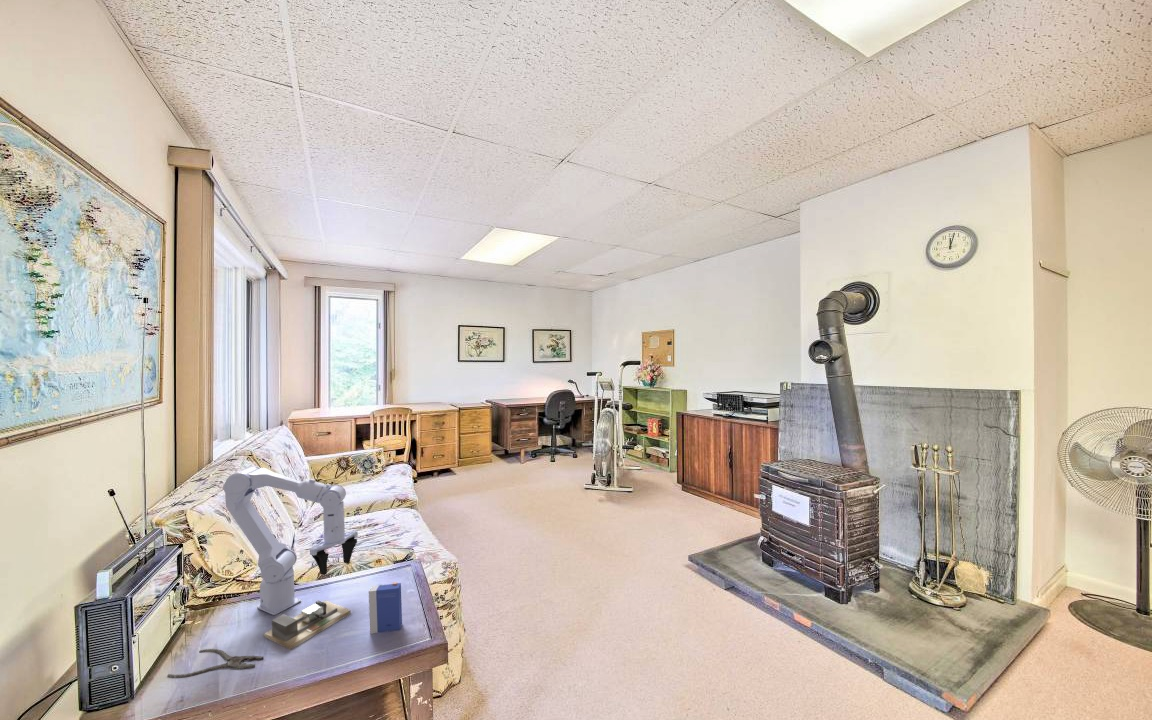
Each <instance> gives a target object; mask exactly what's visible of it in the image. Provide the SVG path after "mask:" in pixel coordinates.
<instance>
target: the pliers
mask: <svg viewBox="0 0 1152 720" xmlns="http://www.w3.org/2000/svg"><path fill="white" fill-rule="evenodd" d="M198 652H199V653H216V654H219V655H220V656H221V657H222V659H224V661H227V662H225V663H221V664H217V665H214V666H210V667H206V668H205V669H201V670H198V671H197V670H196V671H193V672H190V673H189V672H188V673H183V674H181V673H180V674H175V673H174V674H173V673H168V674H167V677H168V678H172V679H173V678H175V679H178V678H179V679H180V678H188V677H194V676H197V675H200V674H203V673H208V672H211V671H215V670H220V669H231V670H232V669H233V670H234V669H235V670H239V669H240V670H245V669H251V668H255V667H256V664H253V663H246V662H245V661H248V662H252V661H261V660H264V657H265V656H259V655H241V656H237V655H235V656H231V655H229V654H227V653H226V652H225V651H224V650H221V649H218V648H206V649H205V648H204V649H200V650H198Z"/></svg>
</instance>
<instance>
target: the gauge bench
mask: <svg viewBox="0 0 1152 720" xmlns="http://www.w3.org/2000/svg"><path fill="white" fill-rule="evenodd" d="M322 602H323V603H326V614H325V615H323V616H322V617H324V618H323V619H321V618H318V619H316V620H314V621H313V622H311V623H306V622H304V621H302V612H301V613H300V614H297V615H296V616H294V617H291V616H289V615H286V614H284V613H283V614H281V615H279V616H277V617H275V618H274V619H272V620H271V629H270V630H268V631H266V632H265V633H264V638H265V639H268V640H270V641H272V642H275V643H276V644H278V645H280V646H282V647H285V648H286V649H288V650H293V649H294V648H295V647H297V646H298V645H301V644H303V642H306V641H307V640H309V639H310V638H312V637H314V636H316V635H317V634H319V633H321V632H322V631H324V630H326V629H328V628H329V627H330V626H331V625H334V624H336V623H337V622H339V621H340V620H343V619H344V618H345V617H347V616H349V615H351V613H352V610H351V609H350V608H346V607H344V606H342V605H338V604H335V603H333V602H331V601H328V600H323V601H322Z"/></svg>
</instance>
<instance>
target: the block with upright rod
mask: <svg viewBox="0 0 1152 720" xmlns="http://www.w3.org/2000/svg"><path fill="white" fill-rule="evenodd" d="M323 602H324V601H320V600H317V601H315V603H313V604H311V605H310V606H308V607H306V608H304V609H302V610H301V613H302V621H304V622H306V623H311V622H313V621H314V620H316V619H318V618H321V619H323V618H324V617H322V616H323V615H325V614H326V603H323Z"/></svg>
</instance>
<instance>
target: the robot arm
mask: <svg viewBox="0 0 1152 720" xmlns="http://www.w3.org/2000/svg"><path fill="white" fill-rule="evenodd" d="M264 487H270V488H275V489H279V490H284V491H287V492H292V493H295V495H296V497H297V498H299V499H302V500H306V501H309V502H314V503H317V504H319V505H320V506H321V508H322V510H323V513H322V517H323V540H322V541H321V542H318V543H317V544H315V545H314V546H312V547H310V548H309V555H310V556H311V557H312V558H313V559H314V561H315V563H316V564H317V566H318V569H319V573H320V575H323V576H325V575H327V574H328V560H329V555H330V554H329V553H327V552H326V550H328V549H330V548H333V547H335V546H337V545H341V549H342V555H343V556H342V558H343V559H342V560H343V563H344V564H347V565H349V564H350V563H351V559H352V555H353V553H354V552H353V551H354V549H355V547H356V545H357V543H358V539H357V538H358V536H359V535H358V530H351V531H350V530H349V531H347V532H345V531H346V530H345V527H346V526H345V506H344V504H345V503H344V499H345V498H346V495H347V491H346V489H345V488H344V487H343V486H341V485H339V484H333V485H332V484H331V483H327V484H325V483H322V482H318V481H316V478H310V479H308V478H306V479H304V480H302V481H301V480H298V479H295V478H292V477H288V476H286V475H283V474H280V473H277V472H274V471H272V470H269V469H268V468H267V467H260V466H257V465H251V466H247V467H246V468H244V469H242V470H240V471H238V472H234V473H232V474H230V475H229V476H228V477H227V478H226V479H225V482H224V484H223V486H222V490H223V492H224V493H225V495H224V496H225V498H224V499H225V508H226V509H227V511H228V512H229V514H230V515H231V516H232V518H233V520H234V521H235V523H236V524H237V525H238V527H239V528H240V530H241V531H242V533H243V534H244V536H245V538H247V540H248V542H249V543H250V545H252V547H253V549H254V550H255V552H256V554H258V561H257V566H258V567H259V570H260V576H261V579H262V580H261V582H260V585H259V603H260V604H258V605H257V606H256V608H257V609H259V610H261V611H263V612H266V613H268V614H269V615H272V616H275V615H277V614H279V613H281V612H283V611H285V610H287V609H289V608H291V607H294V606H296V605H298V604H299V603H300V602H302V599H300V598H297V597H295V570H294V566H295V564H296V563H297V559H298V558H297V557H298V556H297V554H296V552H295V551H294V550H292V549H290V548H289V547H288V545H286V544H285V543H282V542H279V541H278V540H277V538H276V536H275V535H274V534H273V533H272V530H271V529H270V528H269V527H268V525H267V523H266V522H265V521H264V519H263V518H262V516H261V515H260V513H259V512H258V510H257V509H256V507H255V505H253V503H252V502H251V499H252V497H253V495H254V492H255V490H257V489H260V488H264Z"/></svg>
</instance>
